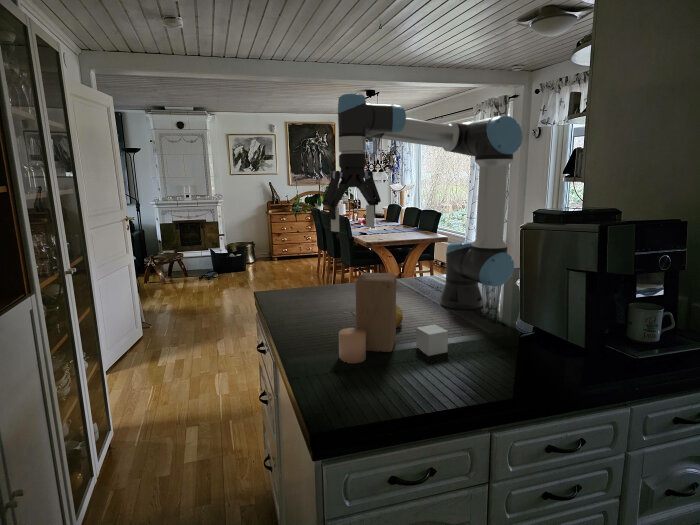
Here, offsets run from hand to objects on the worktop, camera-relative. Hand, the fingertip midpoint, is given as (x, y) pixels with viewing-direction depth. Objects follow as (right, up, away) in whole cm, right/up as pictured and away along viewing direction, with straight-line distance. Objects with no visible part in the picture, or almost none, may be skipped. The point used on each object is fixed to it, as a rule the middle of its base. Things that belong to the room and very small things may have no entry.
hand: (353, 229), depth 124 cm
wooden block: (+6, -33, -3) cm, 34 cm away
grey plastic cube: (+21, -33, -7) cm, 40 cm away
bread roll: (+11, -30, +15) cm, 35 cm away
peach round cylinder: (0, -35, -11) cm, 36 cm away
